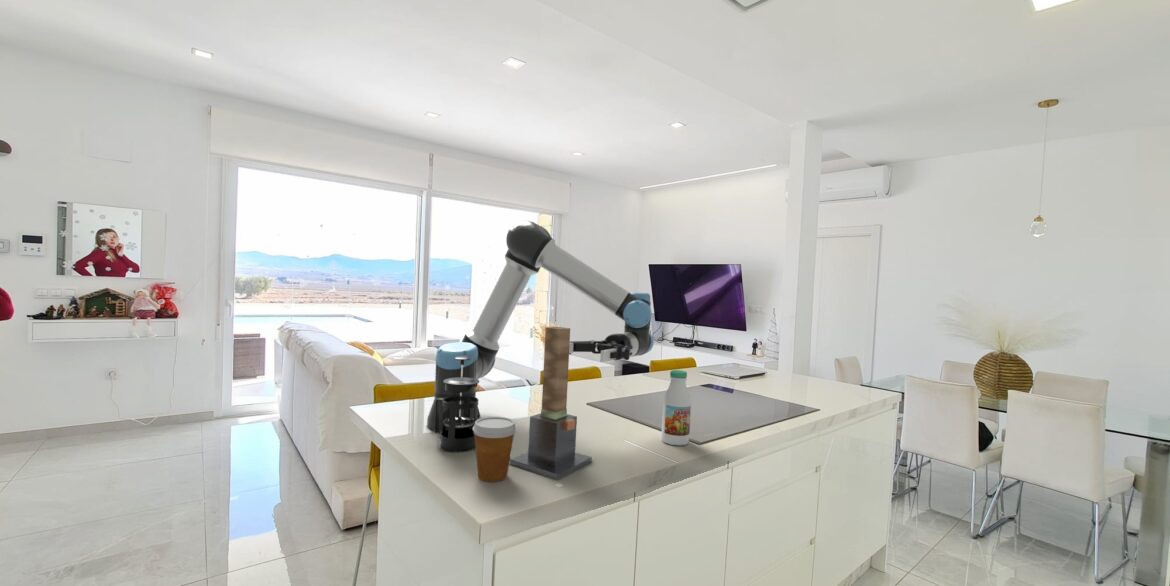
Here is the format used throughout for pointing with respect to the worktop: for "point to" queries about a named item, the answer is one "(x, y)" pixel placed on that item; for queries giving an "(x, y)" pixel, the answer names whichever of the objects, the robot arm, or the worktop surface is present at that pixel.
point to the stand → (552, 448)
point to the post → (555, 373)
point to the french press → (459, 427)
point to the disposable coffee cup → (493, 447)
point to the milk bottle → (676, 410)
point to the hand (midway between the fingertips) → (579, 353)
